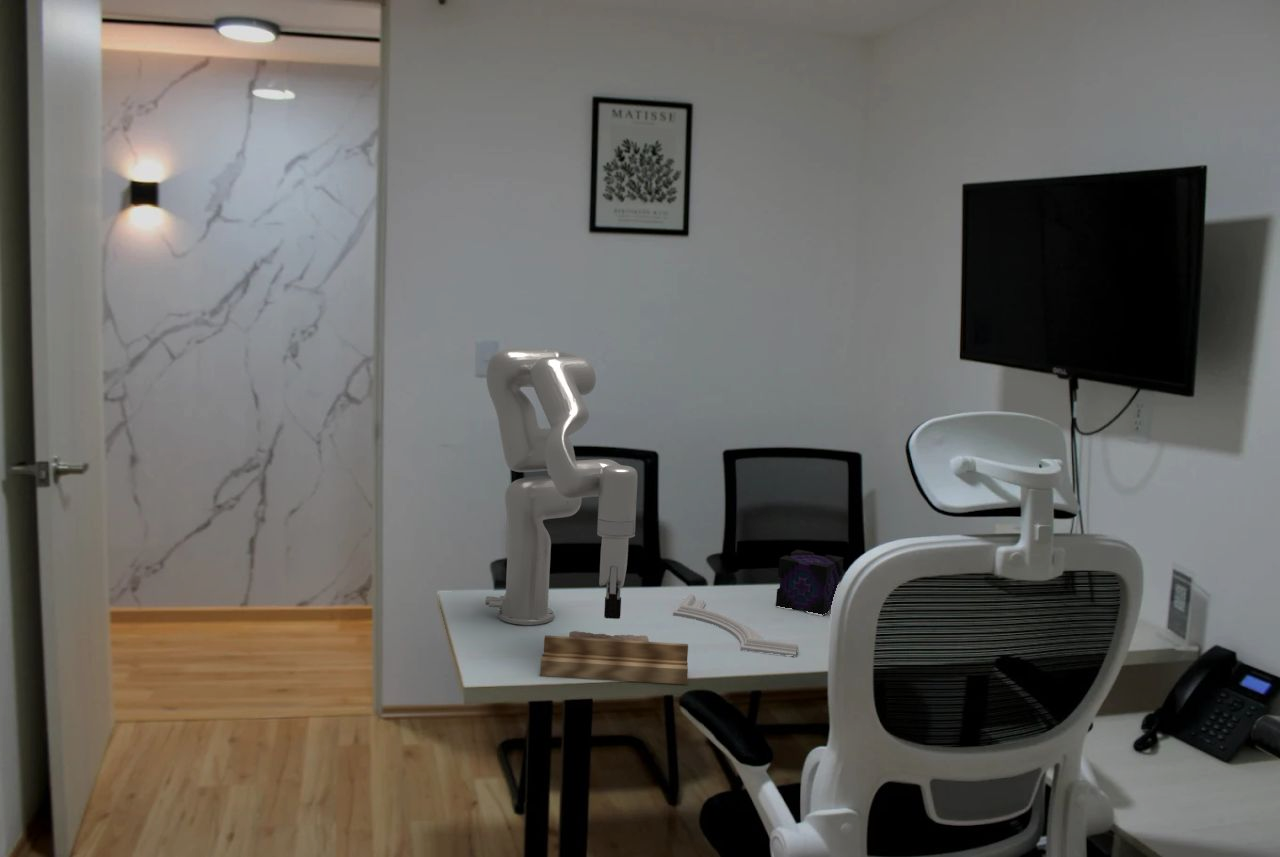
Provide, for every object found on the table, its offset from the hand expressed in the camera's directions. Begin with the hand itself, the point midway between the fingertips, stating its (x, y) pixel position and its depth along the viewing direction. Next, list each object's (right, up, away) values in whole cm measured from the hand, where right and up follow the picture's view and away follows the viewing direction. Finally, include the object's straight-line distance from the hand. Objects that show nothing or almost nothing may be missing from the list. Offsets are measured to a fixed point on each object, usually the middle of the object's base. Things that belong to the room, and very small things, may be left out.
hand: (612, 617), depth 223 cm
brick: (-1, -9, +1) cm, 9 cm away
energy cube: (+46, -6, +47) cm, 66 cm away
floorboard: (+1, -9, -6) cm, 11 cm away
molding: (+27, -8, +26) cm, 38 cm away
